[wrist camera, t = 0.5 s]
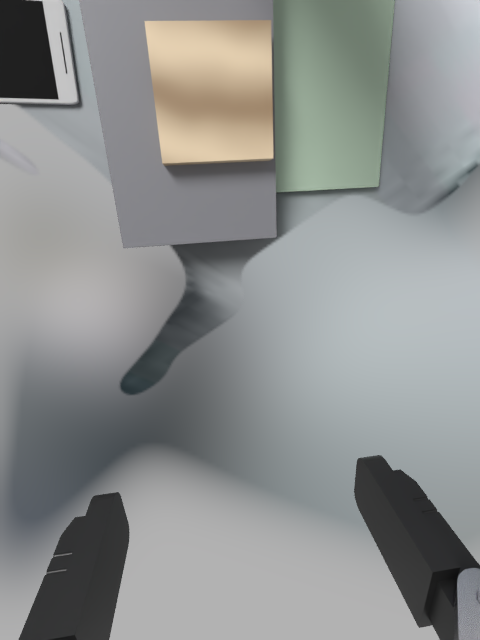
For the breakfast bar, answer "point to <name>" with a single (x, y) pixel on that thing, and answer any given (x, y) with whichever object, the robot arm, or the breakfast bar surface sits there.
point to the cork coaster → (212, 90)
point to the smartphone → (36, 53)
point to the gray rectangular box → (143, 138)
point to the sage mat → (330, 92)
